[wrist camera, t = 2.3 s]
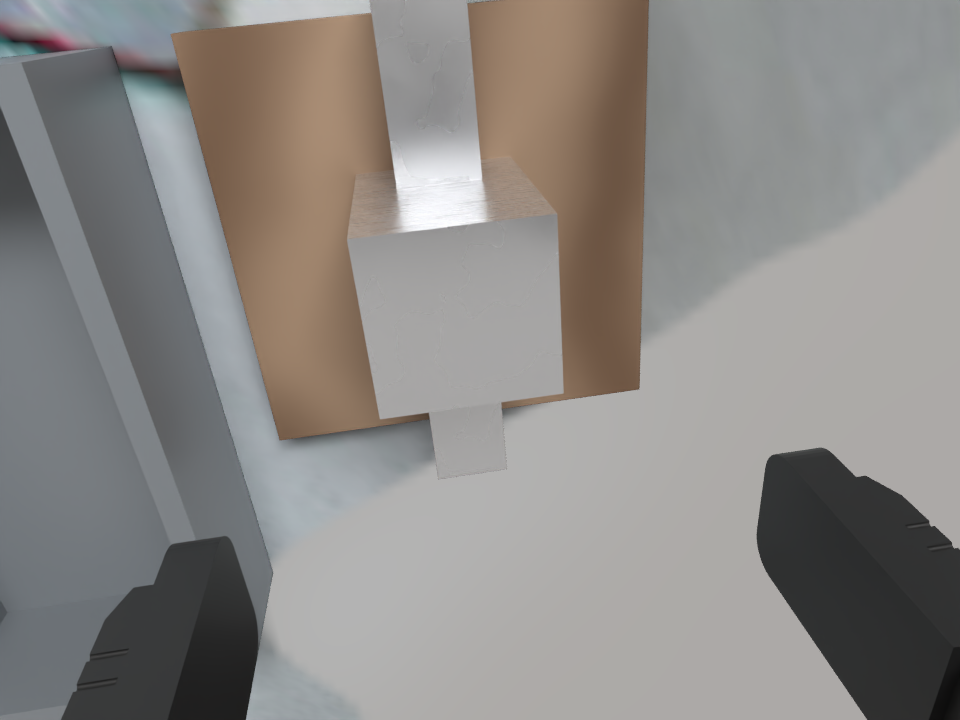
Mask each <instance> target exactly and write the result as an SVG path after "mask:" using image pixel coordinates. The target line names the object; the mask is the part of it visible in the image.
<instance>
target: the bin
mask: <svg viewBox="0 0 960 720" xmlns="http://www.w3.org/2000/svg"><path fill="white" fill-rule="evenodd" d="M221 536H227V537H229V538H230V540H231V541H232V543H233V546H234V549H235V552H236V555H237V558H238V561H239V564H240V567H241V570H242V573H243V576H244V579H245V582H246V585H247V588H248V592H249V595H250V598H251V601H252V604H253V607H254V610H255V614H256V619H257V626H258V650H259V645H260V639H261V634H262V629H263V623H264V618H265V613H266V608H267V602H268V597H269V592H270V586H271V581H272V576H273V571H272V567H271V564H270V561H269V558H268V554H267V551H266V548H265V545H264V541H263V538H262V535H261V531H260V528H259V525H258V522H257V518H256V515H255V512H254V509H253V505H252V502H251V499H250V496H249V492H248V489H247V486H246V483H245V479H244V476H243V473H242V470H241V466H240V463H239V460H238V457H237V453H236V450H235V447H234V444H233V440H232V437H231V434H230V431H229V427H228V424H227V421H226V418H225V414H224V411H223V408H222V404H221V401H220V398H219V395H218V391H217V388H216V385H215V382H214V378H213V375H212V372H211V369H210V365H209V362H208V359H207V356H206V352H205V349H204V346H203V343H202V339H201V336H200V333H199V330H198V326H197V323H196V320H195V317H194V313H193V310H192V307H191V304H190V300H189V297H188V294H187V291H186V287H185V284H184V281H183V278H182V274H181V271H180V268H179V264H178V261H177V258H176V255H175V251H174V248H173V245H172V242H171V238H170V235H169V232H168V229H167V225H166V222H165V219H164V216H163V212H162V209H161V206H160V203H159V199H158V196H157V193H156V190H155V186H154V183H153V180H152V177H151V173H150V170H149V167H148V164H147V160H146V157H145V154H144V151H143V147H142V144H141V141H140V138H139V134H138V131H137V128H136V124H135V121H134V118H133V115H132V111H131V108H130V105H129V102H128V98H127V95H126V92H125V89H124V85H123V82H122V79H121V76H120V72H119V69H118V66H117V63H116V59H115V56H114V53H113V50H112V46H111V47H101V48H91V49H81V50H72V51H62V52H52V53H42V54H32V55H22V56H12V57H2V58H0V720H61V718H62V716H63V714H64V711H65V709H66V707H67V705H68V702H69V700H70V698H71V695H72V693H73V692H76V690H77V685H76V684H77V682H78V680H79V677H80V675H81V673H82V670H83V668H84V666H85V664H86V662H88V661H90V652H91V650H92V648H93V645H94V643H95V641H96V639H97V636H98V634H99V632H100V629H101V627H102V625H103V623H104V620H105V619H106V618H107V617H108V616H109V614H110V613H111V612H112V611H113V610H114V609H115V608H116V607H117V605H118V604H119V603H120V602H121V601H122V600H123V599H124V598H125V596H126V595H127V594H128V593H129V592H130V591H131V590H132V589H133V588H134V587H140V586H147V585H153V584H154V582H155V579H156V577H157V574H158V572H159V569H160V566H161V564H162V561H163V558H164V556H165V553H166V551H167V549H168V548H169V546H170V545H172V544H174V543H181V542H188V541H194V540H201V539H208V538H214V537H221ZM257 655H258V654H257ZM256 661H257V660H256Z"/></svg>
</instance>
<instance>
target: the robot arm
mask: <svg viewBox="0 0 960 720" xmlns="http://www.w3.org/2000/svg"><path fill="white" fill-rule="evenodd" d="M757 544H758V550H759V554H760V558H761V561H762V563H763V566H764V568H765V570H766V572H767V573H768V575H769V577H770V578H771V580H772V581H773V582H774V584H775V585H776V587H777V588H778V590H779V591H780V593H781V594H782V595H783V597H784V599H785V600H786V601H787V603H788V604H789V606H790V607H791V609H792V610H793V612H794V613H795V614H796V616H797V618H798V619H799V621H800V622H801V623H802V625H803V626H804V628H805V629H806V631H807V632H808V634H809V635H810V637H811V638H812V640H813V641H814V642H815V644H816V645H817V647H818V648H819V650H820V651H821V653H822V654H823V656H824V657H825V659H826V660H827V661H828V663H829V664H830V666H831V667H832V669H833V670H834V672H835V673H836V675H837V676H838V678H839V679H840V680H841V682H842V683H843V685H844V686H845V688H846V689H847V691H848V692H849V694H850V695H851V697H852V698H853V699H854V701H855V702H856V704H857V705H858V707H859V708H860V710H861V711H862V713H863V714H864V716H865V717H866V718H867V720H960V550H959V549H958V548H955V549H954V548H953V546H952V542H951V541H950V540H949V539H948V538H947V537H945V535H943V534H942V533H941V532H940V531H939V530H938V529H937V528H936V527H935V526H933V527H931V526H930V524H929V520H928V519H926V518H925V517H924V516H923V515H922V514H921V513H920V512H919V511H918V510H917V509H916V508H915V507H914V506H913V505H912V504H910V503H909V502H908V501H907V500H906V499H905V498H904V497H903V496H902V495H900V494H898V493H896V492H894V491H893V490H891V489H889V488H887V487H885V486H884V485H881V484H880V483H878V482H876V481H874V480H872V479H871V478H869V477H867V476H861V477H855V476H854V475H853V474H852V473H851V472H850V471H849V470H848V469H847V468H846V467H845V466H844V465H843V464H842V463H841V462H840V461H839V460H838V459H837V458H836V457H835V456H834V455H833V454H832V453H831V452H830V451H828V450H827V449H824V448H815V449H809V450H802V451H795V452H788V453H782V454H775V455H772V456H771V457H770V458H769V459H768V461H767V464H766V468H765V475H764V482H763V490H762V497H761V505H760V512H759V519H758V527H757ZM257 654H258V626H257V619H256V614H255V610H254V607H253V604H252V601H251V598H250V595H249V592H248V588H247V585H246V582H245V579H244V576H243V573H242V570H241V567H240V564H239V561H238V558H237V555H236V552H235V549H234V546H233V543H232V541H231V540H230V538H229V537H227V536H221V537H214V538H208V539H201V540H194V541H188V542H181V543H174V544H172V545H170V546H169V548H168V549H167V551H166V553H165V556H164V558H163V561H162V564H161V566H160V569H159V572H158V574H157V577H156V579H155V582H154V584H153V585H147V586H140V587H134V588H133V589H132V590H131V591H130V592H129V593H128V594H127V595H126V596H125V598H124V599H123V600H122V601H121V602H120V603H119V604H118V605H117V607H116V608H115V609H114V610H113V611H112V612H111V613H110V614H109V616H108V617H107V618H106V619H105V620H104V623H103V625H102V627H101V629H100V632H99V634H98V636H97V639H96V641H95V643H94V645H93V648H92V650H91V652H90V661H88V662H86V664H85V666H84V668H83V670H82V673H81V675H80V677H79V680H78V682H77V684H76V685H77V690H76V692H73V693H72V695H71V698H70V700H69V702H68V705H67V707H66V709H65V711H64V714H63V716H62V718H61V720H246V715H247V710H248V704H249V699H250V693H251V688H252V682H253V677H254V671H255V666H256V660H257Z"/></svg>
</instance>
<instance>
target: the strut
mask: <svg viewBox="0 0 960 720" xmlns="http://www.w3.org/2000/svg"><path fill="white" fill-rule="evenodd" d="M370 7H371V14H372V21H373V28H374V35H375V42H376V49H377V55H378V62H379V69H380V76H381V83H382V90H383V97H384V104H385V111H386V118H387V125H388V132H389V139H390V146H391V153H392V160H393V167H394V170H391V171H382V172H373V173H365V174H356V178H355V185H354V192H353V200H352V207H351V214H350V221H349V228H348V235H347V243H348V248H349V254H350V259H351V265H352V270H353V276H354V281H355V286H356V292H357V297H358V303H359V308H360V314H361V319H362V325H363V330H364V335H365V341H366V346H367V352H368V357H369V363H370V368H371V374H372V379H373V384H374V390H375V395H376V401H377V406H378V412H379V417H380V419H387V418H394V417H401V416H408V415H415V414H422V413H429V417H430V424H431V431H432V438H433V445H434V452H435V459H436V466H437V473H438V479H444V478H450V477H457V476H464V475H470V474H477V473H484V472H490V471H498V470H504V469H507V464H506V453H505V440H504V428H503V417H502V405H501V402H507V401H514V400H521V399H528V398H535V397H542V396H549V395H556V394H563V393H564V389H563V361H562V333H561V305H560V277H559V249H558V221H557V213H556V211H555V210H554V209H553V208H552V207H551V205H550V204H549V203H548V202H547V200H546V199H545V198H544V197H543V196H542V194H541V193H540V192H539V191H538V190H537V188H536V187H535V186H534V185H533V183H532V182H531V181H530V180H529V179H528V177H527V176H526V175H525V174H524V172H523V171H522V170H521V169H520V168H519V166H518V165H517V164H516V163H515V162H514V160H513V159H512V158H511V157H502V158H494V159H485V160H481V159H480V147H479V135H478V123H477V112H476V100H475V88H474V76H473V65H472V53H471V41H470V29H469V18H468V6H467V0H370Z"/></svg>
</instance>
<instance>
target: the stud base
mask: <svg viewBox="0 0 960 720" xmlns="http://www.w3.org/2000/svg"><path fill="white" fill-rule="evenodd" d="M467 6H468V18H469V29H470V41H471V53H472V65H473V76H474V88H475V100H476V112H477V123H478V135H479V147H480V159H481V160H485V159H494V158H502V157H511V158H512V159H513V160H514V162H515V163H516V164H517V165H518V166H519V168H520V169H521V170H522V171H523V172H524V174H525V175H526V176H527V177H528V179H529V180H530V181H531V182H532V183H533V185H534V186H535V187H536V188H537V190H538V191H539V192H540V193H541V194H542V196H543V197H544V198H545V199H546V200H547V202H548V203H549V204H550V205H551V207H552V208H553V209H554V210H555V211H556V213H557V221H558V249H559V277H560V305H561V333H562V361H563V389H564V393H563V394H556V395H549V396H542V397H535V398H528V399H521V400H514V401H507V402H501V405H502V409H504V408H511V407H518V406H525V405H532V404H539V403H546V402H553V401H561V400H567V399H575V398H582V397H588V396H596V395H602V394H610V393H617V392H624V391H630V390H637V389H639V383H640V343H641V301H642V259H643V217H644V175H645V133H646V91H647V49H648V7H649V0H496V1H486V2H476V3H467ZM171 37H172V41H173V45H174V49H175V52H176V56H177V60H178V63H179V67H180V71H181V75H182V78H183V82H184V86H185V89H186V93H187V97H188V101H189V104H190V108H191V112H192V116H193V119H194V123H195V127H196V130H197V134H198V138H199V142H200V145H201V149H202V153H203V156H204V160H205V164H206V168H207V171H208V175H209V179H210V183H211V186H212V190H213V194H214V197H215V201H216V205H217V209H218V212H219V216H220V220H221V223H222V227H223V231H224V235H225V238H226V242H227V246H228V250H229V253H230V257H231V261H232V264H233V268H234V272H235V276H236V279H237V283H238V287H239V291H240V294H241V298H242V302H243V305H244V309H245V313H246V317H247V320H248V324H249V328H250V331H251V335H252V339H253V343H254V346H255V350H256V354H257V358H258V361H259V365H260V369H261V372H262V376H263V380H264V384H265V387H266V391H267V395H268V398H269V402H270V406H271V410H272V413H273V417H274V421H275V425H276V428H277V432H278V436H279V439H280V440H286V439H293V438H300V437H307V436H314V435H321V434H328V433H335V432H342V431H349V430H356V429H363V428H371V427H378V426H385V425H392V424H399V423H406V422H413V421H420V420H427V419H430V417H429V413H422V414H415V415H408V416H401V417H394V418H387V419H380V417H379V412H378V406H377V401H376V395H375V390H374V384H373V379H372V374H371V368H370V363H369V357H368V352H367V346H366V341H365V335H364V330H363V325H362V319H361V314H360V308H359V303H358V297H357V292H356V286H355V281H354V276H353V270H352V265H351V259H350V254H349V248H348V243H347V235H348V228H349V221H350V214H351V207H352V200H353V192H354V185H355V178H356V174H365V173H373V172H382V171H391V170H394V167H393V160H392V153H391V146H390V139H389V132H388V125H387V118H386V111H385V104H384V97H383V90H382V83H381V76H380V69H379V62H378V55H377V49H376V42H375V35H374V28H373V21H372V14H371V13H366V14H356V15H346V16H336V17H326V18H316V19H306V20H296V21H286V22H276V23H266V24H256V25H246V26H236V27H226V28H217V29H207V30H197V31H187V32H179V33H173V34H171Z"/></svg>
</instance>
